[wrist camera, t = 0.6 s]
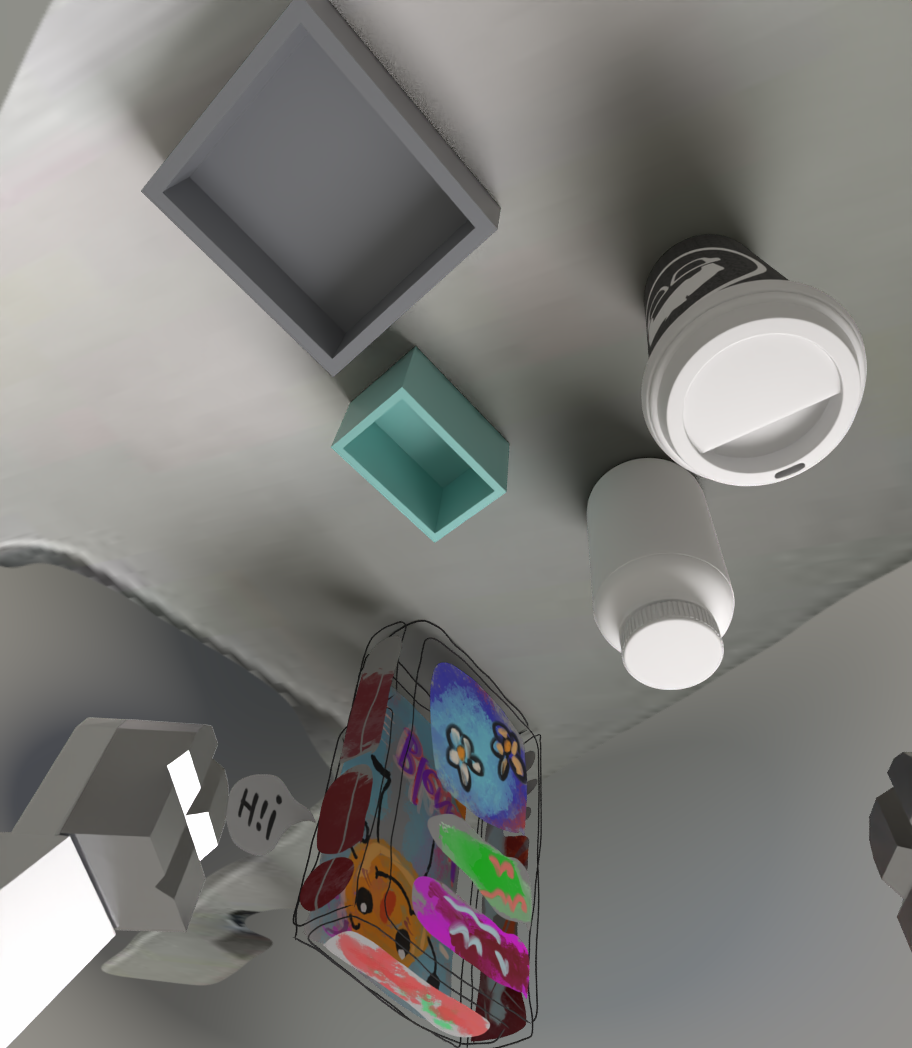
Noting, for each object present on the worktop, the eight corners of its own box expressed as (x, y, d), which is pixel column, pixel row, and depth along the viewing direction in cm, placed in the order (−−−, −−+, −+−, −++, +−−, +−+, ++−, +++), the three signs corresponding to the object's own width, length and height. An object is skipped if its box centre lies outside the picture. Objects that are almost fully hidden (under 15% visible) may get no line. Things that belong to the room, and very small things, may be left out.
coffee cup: (621, 377, 49) (649, 510, 37) (613, 219, 44) (642, 313, 32) (782, 358, 48) (868, 491, 35) (794, 192, 42) (898, 280, 30)
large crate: (321, -9, 39) (298, -8, 35) (500, 208, 44) (497, 229, 40) (173, 173, 44) (140, 191, 41) (348, 347, 50) (333, 377, 46)
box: (291, 571, 60) (169, 864, 40) (350, 534, 58) (252, 827, 38) (484, 754, 71) (463, 1061, 51) (541, 730, 68) (543, 1042, 48)
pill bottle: (619, 436, 52) (644, 580, 39) (726, 480, 53) (784, 633, 40) (564, 526, 56) (572, 681, 44) (665, 565, 57) (700, 726, 45)
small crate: (415, 346, 49) (402, 387, 44) (509, 443, 52) (506, 491, 48) (350, 402, 52) (330, 447, 47) (443, 492, 55) (434, 542, 50)
